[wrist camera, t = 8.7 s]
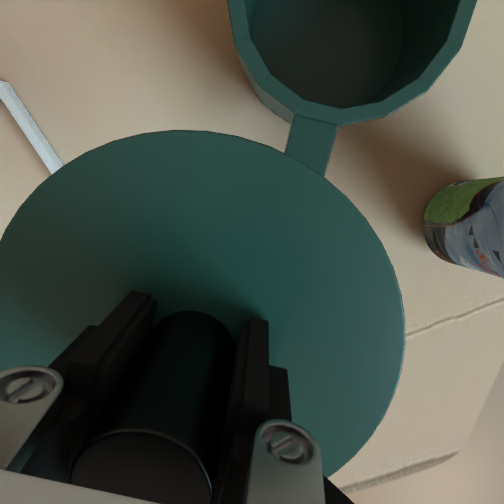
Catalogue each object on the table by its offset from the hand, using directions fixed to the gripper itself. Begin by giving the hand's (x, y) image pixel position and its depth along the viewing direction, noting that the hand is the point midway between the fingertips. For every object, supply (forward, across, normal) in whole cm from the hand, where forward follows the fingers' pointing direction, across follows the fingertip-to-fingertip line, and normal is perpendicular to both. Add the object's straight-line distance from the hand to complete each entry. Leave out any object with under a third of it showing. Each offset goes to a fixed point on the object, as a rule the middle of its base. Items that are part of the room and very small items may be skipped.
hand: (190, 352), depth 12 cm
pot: (+19, -3, -14) cm, 24 cm away
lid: (+1, 0, 0) cm, 1 cm away
